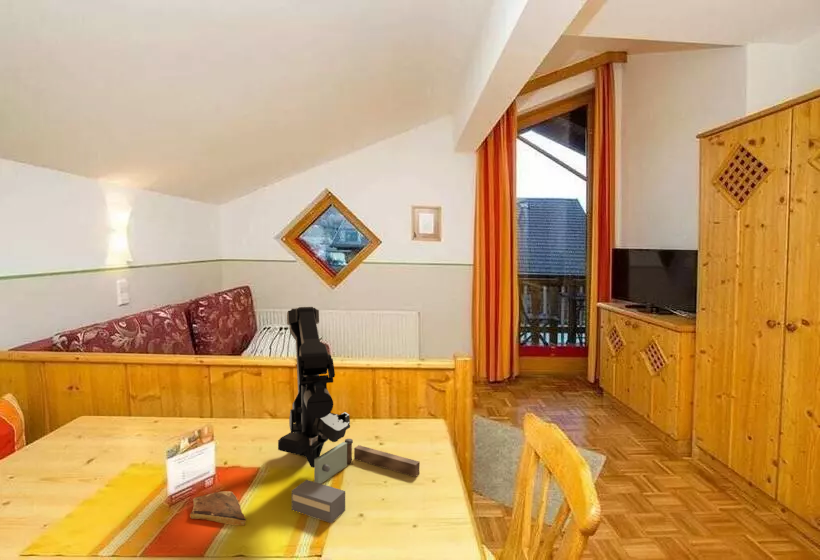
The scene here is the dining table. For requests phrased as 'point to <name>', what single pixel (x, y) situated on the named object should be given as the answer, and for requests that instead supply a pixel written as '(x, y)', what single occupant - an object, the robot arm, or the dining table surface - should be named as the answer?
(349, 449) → the hinge post
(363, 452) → the bar
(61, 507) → the dining table surface
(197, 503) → the shard
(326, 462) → the door
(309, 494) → the grey block
